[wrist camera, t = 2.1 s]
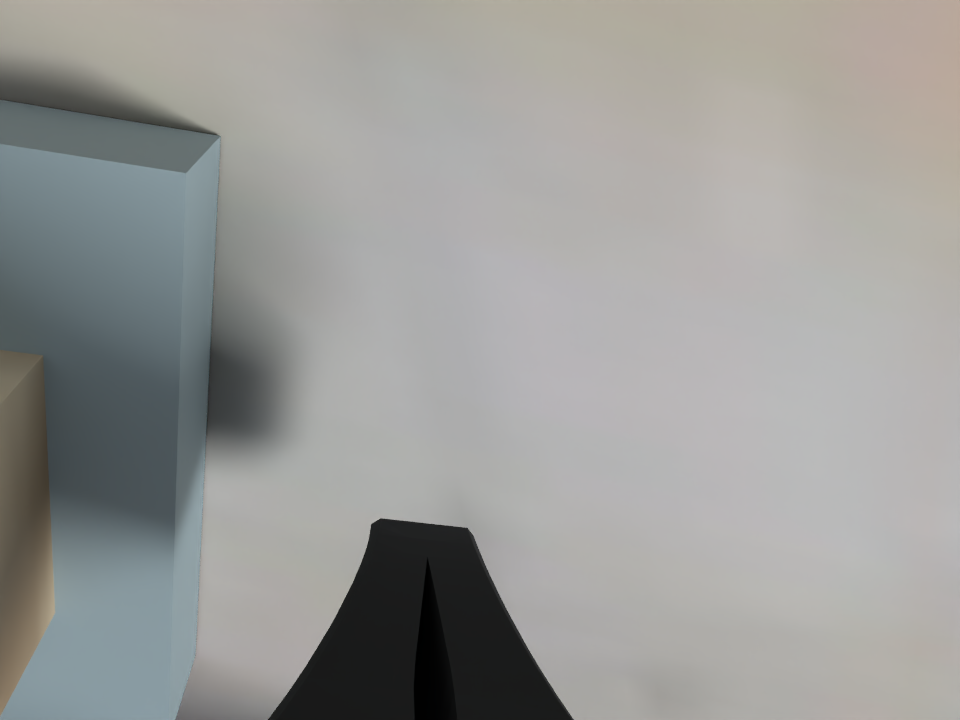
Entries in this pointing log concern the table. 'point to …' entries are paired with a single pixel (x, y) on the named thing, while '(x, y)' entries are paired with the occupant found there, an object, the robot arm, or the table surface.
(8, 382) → the block
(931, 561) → the table surface
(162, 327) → the deck
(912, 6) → the table surface
